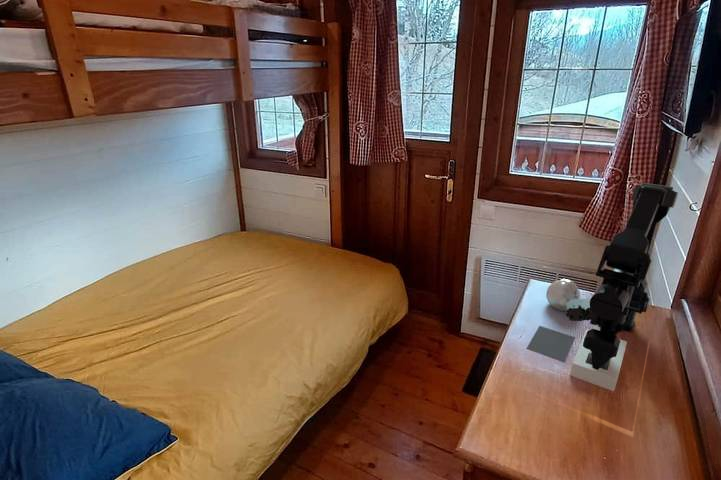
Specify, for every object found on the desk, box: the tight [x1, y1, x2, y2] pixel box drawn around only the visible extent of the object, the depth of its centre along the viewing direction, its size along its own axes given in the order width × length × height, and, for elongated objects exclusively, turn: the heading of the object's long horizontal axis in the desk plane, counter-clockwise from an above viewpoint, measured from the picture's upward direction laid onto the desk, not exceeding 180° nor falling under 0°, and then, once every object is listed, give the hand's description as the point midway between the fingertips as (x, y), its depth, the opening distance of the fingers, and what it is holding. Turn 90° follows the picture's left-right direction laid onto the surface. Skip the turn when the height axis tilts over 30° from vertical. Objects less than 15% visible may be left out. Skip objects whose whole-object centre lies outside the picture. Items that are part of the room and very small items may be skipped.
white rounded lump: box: [545, 278, 581, 312], centre depth 124 cm, size 9×10×10 cm
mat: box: [525, 325, 576, 363], centre depth 111 cm, size 12×9×1 cm
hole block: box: [569, 329, 628, 392], centre depth 103 cm, size 16×9×4 cm, turn 144°
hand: (598, 357), depth 98 cm, fingers open, 9 cm apart
